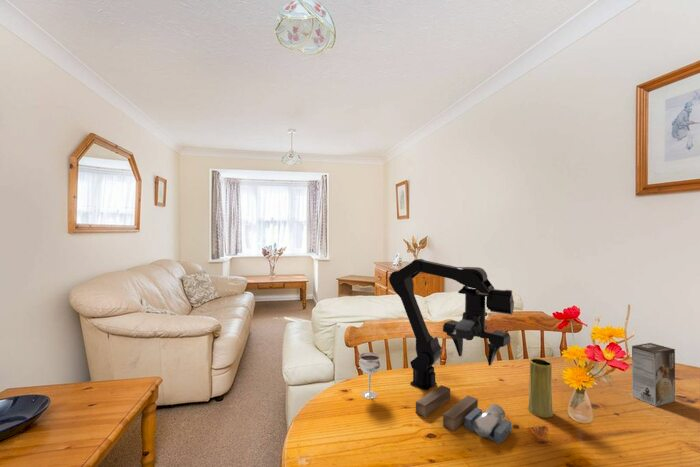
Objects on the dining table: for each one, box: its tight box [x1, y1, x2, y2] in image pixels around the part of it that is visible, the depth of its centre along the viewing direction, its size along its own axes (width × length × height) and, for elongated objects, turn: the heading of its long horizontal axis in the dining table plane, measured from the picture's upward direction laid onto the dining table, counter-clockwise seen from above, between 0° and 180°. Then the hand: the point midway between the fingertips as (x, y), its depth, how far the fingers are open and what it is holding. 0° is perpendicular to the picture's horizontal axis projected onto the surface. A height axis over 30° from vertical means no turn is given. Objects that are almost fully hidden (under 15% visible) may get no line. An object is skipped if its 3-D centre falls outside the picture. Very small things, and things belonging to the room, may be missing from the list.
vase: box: [527, 358, 554, 419], centre depth 90 cm, size 6×6×14 cm
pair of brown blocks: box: [415, 384, 479, 432], centre depth 90 cm, size 12×14×3 cm
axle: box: [473, 403, 506, 438], centre depth 82 cm, size 10×4×4 cm, turn 134°
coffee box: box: [631, 342, 676, 407], centre depth 98 cm, size 9×6×16 cm
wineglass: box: [358, 352, 381, 400], centre depth 100 cm, size 7×7×12 cm
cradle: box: [463, 407, 513, 445], centre depth 82 cm, size 9×7×3 cm
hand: (474, 360), depth 97 cm, fingers open, 9 cm apart
